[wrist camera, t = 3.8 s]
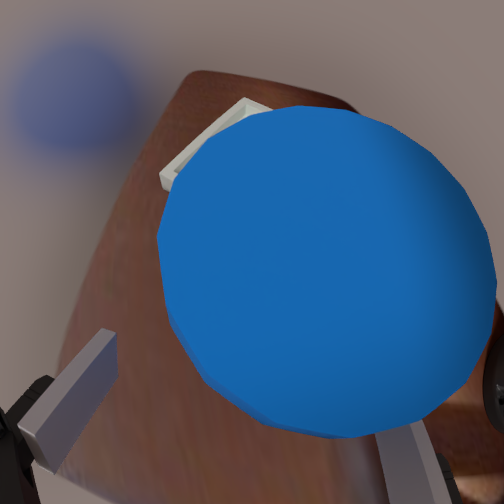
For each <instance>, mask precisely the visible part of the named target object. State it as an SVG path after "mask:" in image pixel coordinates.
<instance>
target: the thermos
mask: <svg viewBox="0 0 504 504" xmlns="http://www.w3.org/2000/svg"><path fill="white" fill-rule="evenodd" d="M157 240H158V249H159V257H160V265H161V273H162V281H163V288H164V295H165V302H166V307H167V312H168V317H169V321H170V325H171V327H172V329H173V330H174V332H175V334H176V336H177V337H178V339H179V341H180V342H181V344H182V346H183V347H184V349H185V351H186V352H187V354H188V356H189V357H190V359H191V361H192V362H193V364H194V365H195V367H196V369H197V370H198V372H199V373H200V375H201V377H202V378H203V380H204V381H205V383H206V384H207V385H209V386H210V387H211V388H213V389H214V390H215V391H217V392H218V393H219V394H221V395H222V396H223V397H225V398H226V399H227V400H229V401H230V402H232V403H233V404H234V405H236V406H237V407H239V408H240V409H241V410H243V411H244V412H246V413H247V414H248V415H250V416H251V417H253V418H254V419H256V420H257V421H259V422H260V423H262V424H264V425H267V426H271V427H276V428H280V429H284V430H288V431H293V432H297V433H302V434H307V435H312V436H317V437H322V438H328V439H336V438H355V437H359V436H364V435H368V434H373V433H377V432H381V431H385V430H389V429H393V428H397V427H400V426H404V425H407V424H411V423H414V422H417V421H420V420H421V419H423V418H424V417H425V416H426V415H428V414H429V413H430V412H432V411H433V410H434V409H435V408H437V407H438V406H439V405H440V404H442V403H443V402H444V401H445V400H446V399H448V398H449V397H450V396H451V395H452V394H453V393H455V392H456V391H457V390H458V389H459V388H460V387H461V386H463V385H464V384H465V383H466V381H467V380H468V378H469V376H470V374H471V372H472V371H473V369H474V367H475V365H476V363H477V361H478V359H479V357H480V355H481V353H482V351H483V349H484V347H485V345H486V343H487V341H488V339H489V337H490V335H491V330H492V323H493V316H494V308H495V299H496V288H497V279H496V274H495V268H494V263H493V258H492V253H491V248H490V244H489V239H488V235H487V232H486V230H485V228H484V226H483V224H482V222H481V220H480V218H479V216H478V214H477V212H476V210H475V208H474V206H473V204H472V202H471V200H470V199H469V197H468V195H467V193H466V191H465V190H464V188H463V187H462V186H461V185H460V184H459V182H458V181H457V180H456V179H455V178H454V177H453V176H452V175H451V174H450V172H449V171H448V170H447V169H446V168H445V167H444V166H443V165H442V164H441V163H440V161H438V159H437V158H436V157H435V156H434V155H433V154H432V153H431V152H429V151H428V150H426V149H425V148H424V147H422V146H420V145H419V144H418V143H416V142H415V141H413V140H412V139H410V138H409V137H407V136H406V135H404V134H403V133H401V132H400V131H398V130H396V129H395V128H393V127H392V126H389V125H386V124H384V123H381V122H379V121H376V120H373V119H371V118H368V117H365V116H362V115H359V114H356V113H353V112H351V111H347V110H342V109H332V108H322V107H309V106H293V107H288V108H282V109H277V110H272V111H267V112H262V113H257V114H252V115H249V116H248V117H246V118H244V119H242V120H240V121H238V122H237V123H235V124H233V125H231V126H229V127H227V128H226V129H224V130H222V131H220V132H219V133H217V134H215V135H213V136H212V137H210V138H208V139H207V140H206V141H205V142H204V144H203V145H202V146H201V147H200V148H199V149H198V151H197V152H196V153H195V154H194V155H193V157H192V158H191V159H190V160H189V161H188V163H187V164H186V165H185V166H184V167H183V169H182V170H181V171H180V172H179V173H178V175H177V176H176V177H175V178H174V181H173V184H172V187H171V190H170V193H169V197H168V200H167V203H166V206H165V210H164V213H163V217H162V220H161V224H160V227H159V231H158V234H157Z"/></svg>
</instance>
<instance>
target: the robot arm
mask: <svg viewBox="0 0 504 504" xmlns="http://www.w3.org/2000/svg"><path fill="white" fill-rule="evenodd" d="M117 378H118V364H117V338H116V333H115V332H113V331H110V330H107V329H104V328H101V329H100V330H99V332H98V333H97V334H96V335H95V336H94V337H93V338H92V339H91V340H90V341H89V342H88V343H87V345H86V346H85V347H84V348H83V349H82V350H81V351H80V352H79V353H78V354H77V356H76V357H75V358H74V359H73V360H72V361H71V362H70V363H69V364H68V366H67V367H66V368H65V369H64V370H63V371H62V372H61V373H60V375H59V376H58V377H57V378H56V379H54V378H52V377H50V376H48V375H45V376H43V377H41V378H39V379H37V380H36V381H35V382H34V383H33V384H32V385H31V386H30V387H29V389H27V390H26V392H25V393H24V394H23V396H21V397H20V398H19V399H18V400H17V402H16V403H15V404H14V405H13V406H12V407H11V408H10V409H9V410H8V412H7V413H6V414H5V413H4V411H3V410H2V409H1V407H0V504H41V503H40V499H39V496H38V491H37V487H36V483H35V479H34V475H33V470H32V467H31V463H32V462H33V460H34V459H35V461H36V463H37V464H38V466H39V467H41V468H42V469H44V470H46V471H48V472H49V473H51V474H53V475H55V474H56V472H57V470H58V469H59V467H60V466H61V464H62V462H63V461H64V459H65V458H66V456H67V454H68V453H69V451H70V450H71V448H72V447H73V445H74V443H75V442H76V440H77V439H78V437H79V436H80V434H81V432H82V431H83V429H84V428H85V426H86V425H87V423H88V422H89V420H90V419H91V417H92V416H93V414H94V412H95V411H96V409H97V408H98V406H99V405H100V403H101V402H102V400H103V399H104V397H105V396H106V394H107V393H108V391H109V390H110V388H111V387H112V385H113V384H114V382H115V381H116V379H117ZM483 395H484V404H485V409H486V412H487V415H488V418H489V420H490V422H491V424H492V425H493V426H494V428H495V429H497V430H498V431H499V432H501V433H504V334H503V335H502V336H501V337H500V338H499V339H498V340H497V341H496V343H495V344H494V346H493V348H492V350H491V352H490V354H489V357H488V360H487V364H486V368H485V373H484V383H483ZM375 436H376V440H377V444H378V449H379V453H380V457H381V462H382V466H383V471H384V476H385V480H386V485H387V490H388V495H389V500H390V504H463V502H462V499H461V497H460V494H459V491H458V488H457V485H456V482H455V479H453V478H454V477H453V474H452V472H451V468H450V466H449V463H448V461H447V460H446V459H445V457H444V456H443V455H442V454H441V453H439V454H435V452H434V449H433V447H432V444H431V442H430V439H429V436H428V434H427V431H426V429H425V426H424V424H423V421H422V419H421V420H420V421H417V422H414V423H411V424H407V425H404V426H400V427H397V428H393V429H389V430H385V431H381V432H377V433H375Z"/></svg>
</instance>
